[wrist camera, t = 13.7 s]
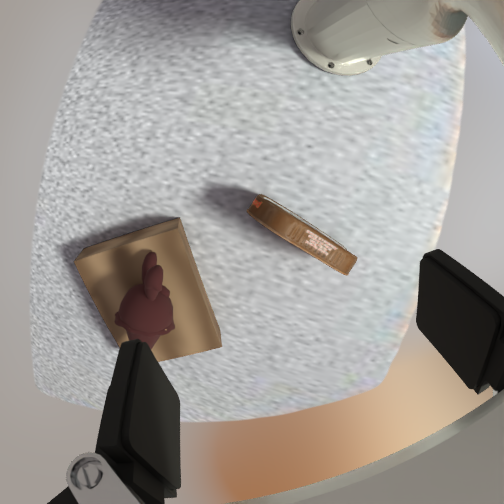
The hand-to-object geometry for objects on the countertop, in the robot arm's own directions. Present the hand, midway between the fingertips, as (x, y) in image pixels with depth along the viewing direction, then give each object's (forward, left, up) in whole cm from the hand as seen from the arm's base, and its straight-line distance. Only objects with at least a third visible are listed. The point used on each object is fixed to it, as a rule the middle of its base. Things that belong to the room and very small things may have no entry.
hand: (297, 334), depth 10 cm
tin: (-7, +9, -31) cm, 33 cm away
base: (+14, +13, -30) cm, 36 cm away
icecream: (+14, +12, -26) cm, 32 cm away
